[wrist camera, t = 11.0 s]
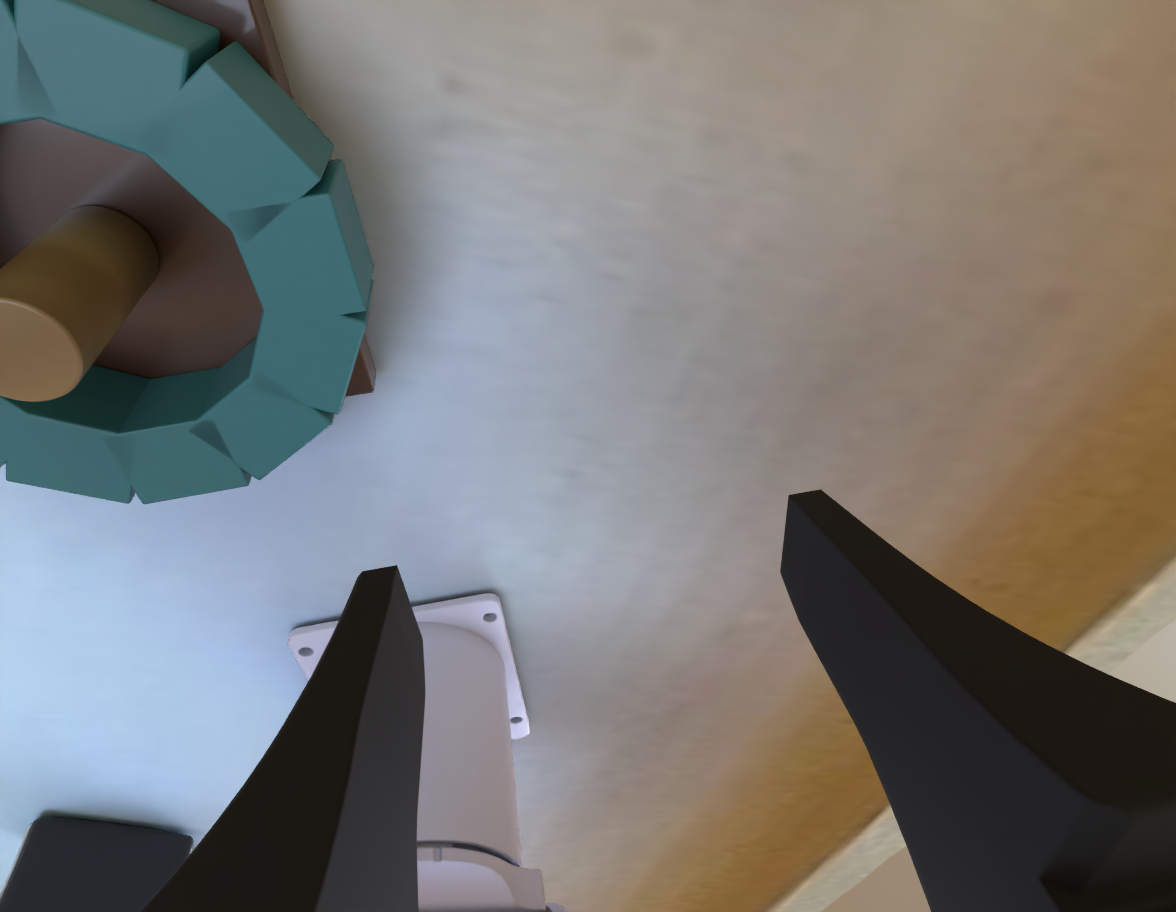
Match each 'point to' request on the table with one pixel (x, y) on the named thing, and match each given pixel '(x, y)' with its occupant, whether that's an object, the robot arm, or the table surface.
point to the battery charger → (90, 866)
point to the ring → (239, 200)
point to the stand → (122, 252)
